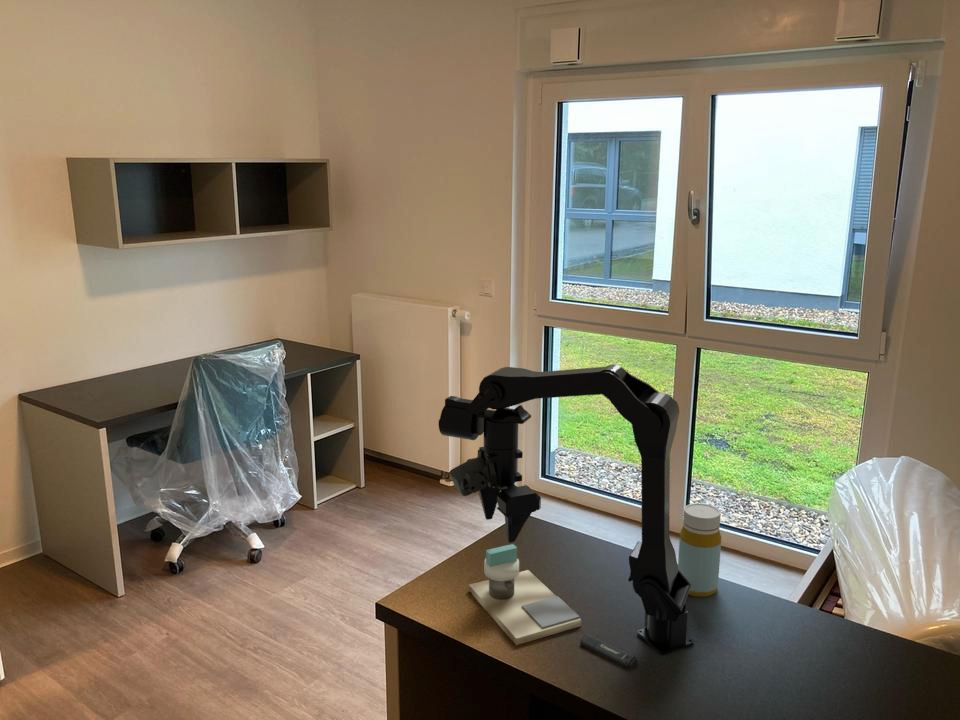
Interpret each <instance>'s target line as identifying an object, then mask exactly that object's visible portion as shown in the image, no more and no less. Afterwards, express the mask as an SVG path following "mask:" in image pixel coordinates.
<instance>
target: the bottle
mask: <svg viewBox="0 0 960 720" xmlns="http://www.w3.org/2000/svg"><path fill="white" fill-rule="evenodd" d="M682 515H683V519H682V520H683V521H682V523H683V524H682V527H681V529H680V531H679V540H678V541H679V542H678V557H677V558H678V560H677V565H678V570H679V571H680V572H681V573H682V574H683V576H684V577H685V578H686V579H687V580H688V581H689V582H690V584H691V588H690V591H689V593H688V595H689V596H691V597H695V598H709V597H710V596H713V595H714V594H715V593H716V592H717V591H718V589H719V578H720V577H719V576H720V575H719V574H720V565H721V563H720V562H721V549H722V535H721V532H720V526H721V525H720V524H721V517H722V516H721V515H722V514H721V510H719V508H717V507H716V506H713V505H711V504H706V503H698V502H697V503H696V502H695V503H690V504H689V503H688V504H686V506H684V509H683V514H682Z"/></svg>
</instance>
